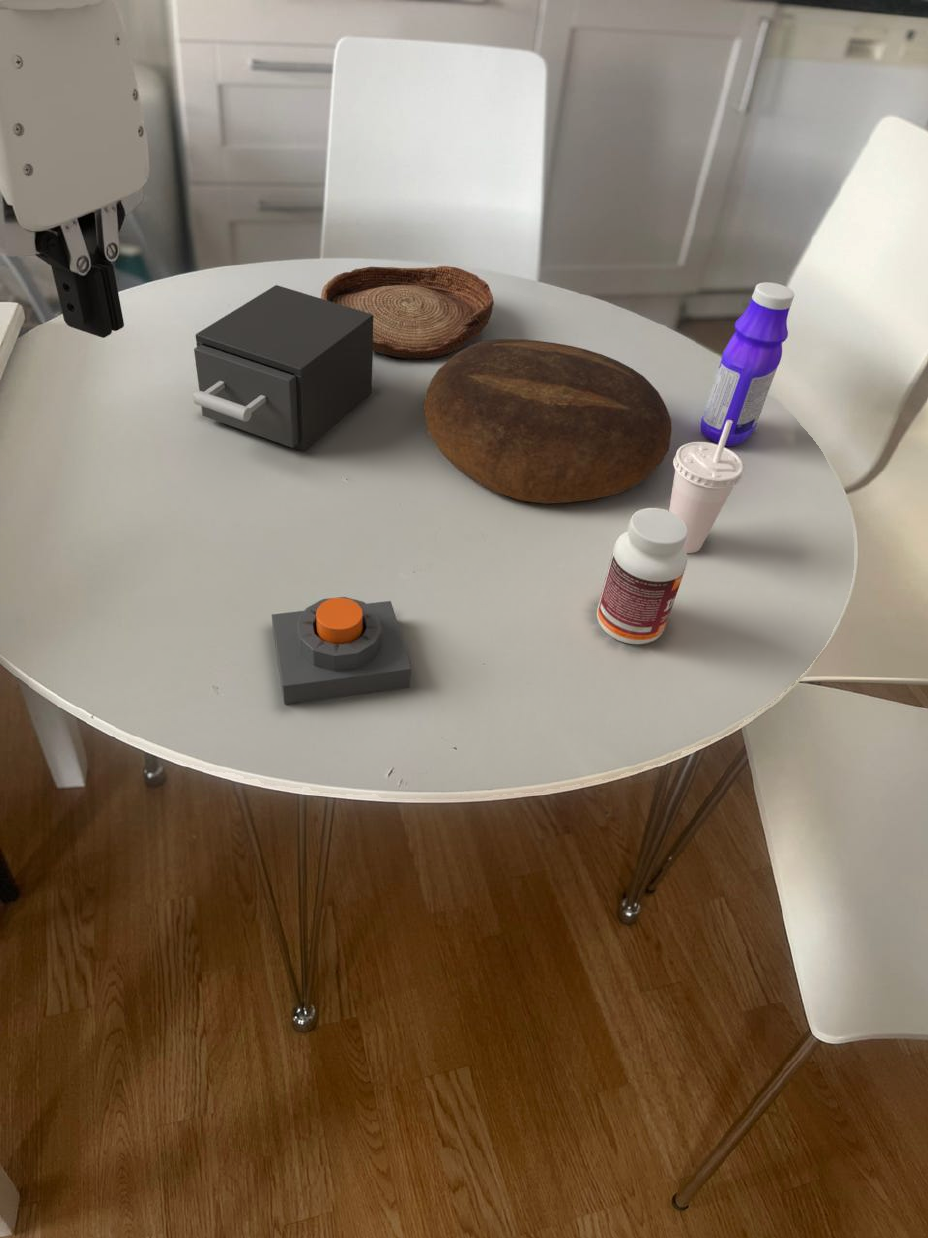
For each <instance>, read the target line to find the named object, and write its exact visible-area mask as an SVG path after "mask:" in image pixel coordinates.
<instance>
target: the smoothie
mask: <svg viewBox="0 0 928 1238" xmlns="http://www.w3.org/2000/svg"><path fill="white" fill-rule="evenodd" d="M732 423H733V422H732V421H731V420H727V421H726V424H725V427H724V430H723V433H722V436H721V438H720V441H719V444H718V443H714V442H707V441H693V442H688V443H685V444H683V445H680V447H679V448H678V449H677V450H676V453H675V455H674V457H673V461H672V465H673V467H674V475H673V482H672V488H671V495H670V501H669V508H668V511H670V512H672V513H674V514H676V515H677V516H679V517H680V518H681V519H682V520H683V521H684V522H685V524H686V525H687V528H688V533H687V537H686V540H685V545H684V546H683V547H684V548H685V550H686V553H687V554H695V553H697V552H698V551H699V550H701V548H702V547H703V544H704V543H705V540H706V539H707V538H708V535H709V533H710V531H711V529H712V527H713V525H714V524H715V522H716V520H717V518H718V517H719V514H720V513H721V511H722V510H723V507H724V505H725V503H726V502H727V500H728V498H729V496H730V494H731V492H732V490H733V488H734V487H735V486H736V485H738V484H739V483H740V481H741V480H742V478H743V473H744V470H745V466H744V461H742V459H741V458H740V456H738V455H737V454H736V453H735V452H734V451H732V450H731V449H729V448H727V447H726V446H725V443H726V440H727V437H728V434H729V431H730V429H731V426H732Z"/></svg>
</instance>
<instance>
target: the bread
mask: <svg viewBox="0 0 928 1238" xmlns="http://www.w3.org/2000/svg"><path fill="white" fill-rule="evenodd" d="M423 410H424V417H425V423H426V429H427V430H426V431H427V432H428V434H429V436H430V438H431V439H432V441H433V442H434V444H435V446H436V447H437V449H438V450H439V452H440V453H441V454H442V455H443V456H444V457H445V458H446V459H447V460H448V461H449V462H450V463H451V464H452V465H453V466H454V467H455V468H456V469H457V470H458V471H460V472H461V473H462V474H464V475H466V476H467V477H469V478H470V479H472V480H473V481H474V482H476V483H478V484H480V485H481V486H483V487H485V488H487V489H489V490H491V491H493V492H494V493H496V494H500V495H503V496H505V497H508V498H512V499H516V500H519V501H523V502H531V503H539V504H559V503H560V504H561V503H562V504H563V503H572V502H580V501H587V500H593V499H599V498H605V497H610V496H613V495H616V494H619V493H621V492H624V491H627V490H630V489H632V488H633V487H635V486H636V485H638V484H639V483H641V482H643V481H644V480H646V478H647V477H649V476H650V475H651V474H652V473H653V472H654V471H656V469H657V468H659V466H660V465H661V464H662V462H663V461H664V460H665V458H666V456H667V454H668V452H669V450H670V444H671V438H672V431H673V429H672V418H671V415H670V413H669V410H668V407H667V406H666V403H665V401H664V399H663V398H662V396H661V394H660V393H659V391H658V389H656V387H654V386H653V384H652V383H651V382H650V381H649V380H648V379H647V378H646V377H645V376H644V375H643V374H641V373H640V372H638V371H636V370H635V369H634V368H632V367H630V366H628V365H626V364H624V363H623V362H620V361H618V360H617V359H614V358H612V357H609V356H607V355H604V354H601V353H599V352H596V351H593V350H589V349H585V348H583V347H582V348H581V347H578V346H573V345H568V344H563V343H557V342H551V341H542V340H533V339H523V338H522V339H519V338H497V339H491V340H483V341H478V342H476V343H474V344H471V345H469V346H468V347H465V348H464V349H462V350H459V351H458V352H457V353H455V354H454V355H453V356H452V357H451V358H450V359H448V360H447V361H446V362H445V363H444V364H442V366H441V367H439V368H438V370H437V371H436V373H435V374H434V375H433V377H432V379H431V380H430V382H429V384H428V387H427V390H426V393H425V397H424V402H423Z"/></svg>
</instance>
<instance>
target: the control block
mask: <svg viewBox="0 0 928 1238" xmlns="http://www.w3.org/2000/svg"><path fill="white" fill-rule="evenodd" d="M333 598H334V597H329V598H323V599H320V600H318V601H317V602H315V603H313V604H311V605H309V606H307V607H306V608H305V609H304V610H299V611H298V610H297V611H291V612H289V611H288V612H281V613H272V614H271V624H272V635H273V642H274V646H275V647H274V648H275V654H276V661H277V667H278V673H279V680H280V687H281V693H282V698H283V704H284V705H292V704H299V703H306V702H313V701H320V700H327V699H328V700H329V699H334V698H335V699H336V698H341V697H342V698H343V697H349V696H356V695H363V694H370V693H377V692H378V693H379V692H385V691H391V690H398V689H399V690H400V689H407V688H410V687H411V676H412V668H411V664H410V661H409V658H408V654H407V651H406V646H405V643H404V640H403V638H402V637H403V636H402V633H401V631H400V627H399V624H398V620H397V616H396V614H395V610H394V606H393V604H392V601H391V600H387V601H378V602H369V603H366V602H365V601H363V600H359V599H354V598H350V597H347V596H340V597H339V596H338V597H337V598H347V599H350V600H353V601H354V602H356V603H357V604H358V605H359V606H360V607H361V609H362V612H363V629H362V633H361V635H360V637H359V638H358V639H357V640H355V641H353V642H351V643H346V644H338V645H336V644H332V643H328V642H326V641H324V640H323V639H321V638H320V636H319V635H318V633H317V621H316V612H317V609H318V607H319V606H320V605H321V604H322V603H323V602H325V601H327V600H329V599H333Z"/></svg>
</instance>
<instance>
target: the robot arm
mask: <svg viewBox="0 0 928 1238" xmlns="http://www.w3.org/2000/svg"><path fill="white" fill-rule="evenodd" d="M140 97H141V96H140V92H139V87H138V83H137V79H136V74H135V70H134V66H133V60H132V56H131V53H130V49H129V45H128V41H127V37H126V34H125V30H124V27H123V23H122V20H121V16H120V13H119V10H118V7H117V4H116V1H115V0H0V254H2V255H5V256H8V257H10V258H20V257H21V258H22V257H31V256H36V257H37V258H38V260H39V261H40V262H41V263H43V264H45V265H48V266H50V267H51V270H52V275H53V279H54V284H55V287H56V292H57V297H58V299H59V305H60V310H61V314H62V317H63V322H64V323H65V324H66V325H67V326H68V327H70V328H73V329H76V330H79V331H82V332H85V333H88V334H90V335H93V336H96V337H99V338H103V339H104V338H107V337H109V336H111V335H112V334H113V332H117V331H119V330H121V329H122V328H124V326H125V322H124V316H123V311H122V305H121V300H120V295H119V289H118V284H117V279H116V274H115V269H114V264H113V263H114V262H116V261H117V259H118V258H119V256H120V253H121V252H120V251H121V250H120V249H121V248H120V247H121V246H120V237H119V236H120V235H119V234H120V232H121V229H122V226H123V224H124V221H125V217H127V216H128V215H130V214H131V213H132V212H133V211H134V210H135V209H136V208H138V207H139V206H140V205H141V204H142V203H143V202H144V200H145V190H144V188H143V187H144V186H145V185H146V183H147V182H148V181H149V177H150V156H149V155H150V154H149V146H148V137H147V132H146V131H147V130H146V125H145V119H144V114H143V107H142V101H141V98H140ZM55 232H56V234H55ZM112 262H113V263H112Z"/></svg>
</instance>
